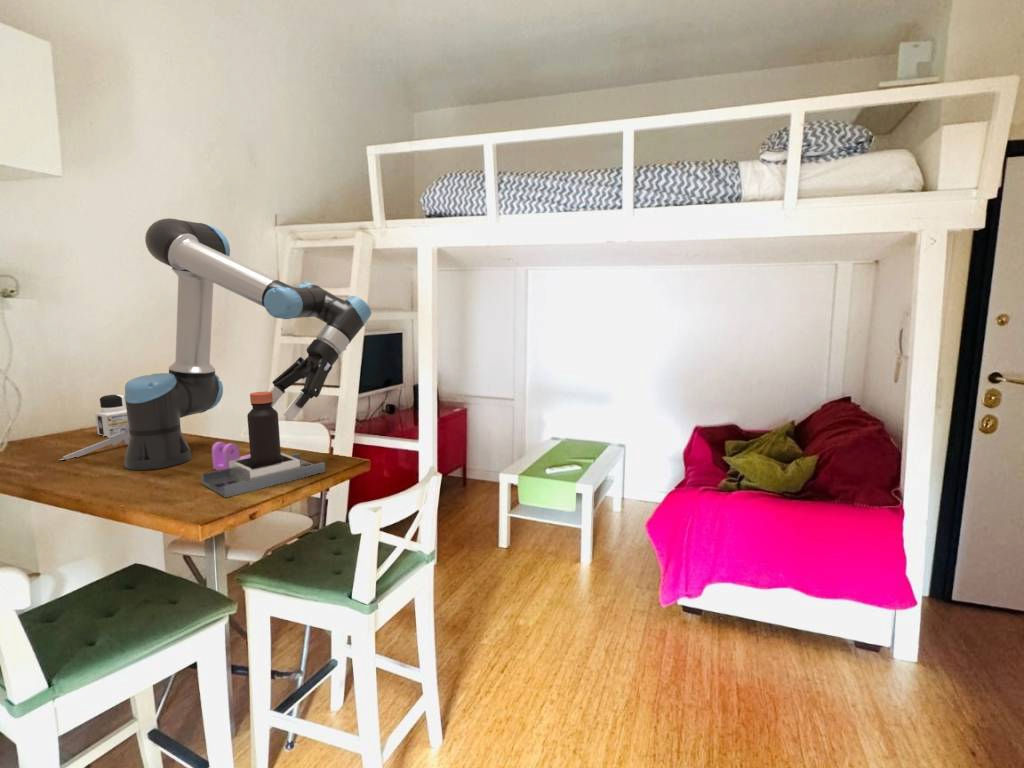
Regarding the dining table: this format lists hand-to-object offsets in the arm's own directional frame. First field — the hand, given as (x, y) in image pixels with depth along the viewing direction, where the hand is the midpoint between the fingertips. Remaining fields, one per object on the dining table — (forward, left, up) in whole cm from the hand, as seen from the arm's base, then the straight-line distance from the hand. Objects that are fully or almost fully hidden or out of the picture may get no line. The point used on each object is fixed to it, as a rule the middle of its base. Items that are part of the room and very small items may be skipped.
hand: (274, 413), depth 136 cm
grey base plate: (-1, -3, -16) cm, 16 cm away
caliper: (-61, -24, -16) cm, 68 cm away
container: (-85, -15, -16) cm, 88 cm away
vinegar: (-1, -3, -15) cm, 15 cm away
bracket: (-18, -2, -16) cm, 24 cm away
